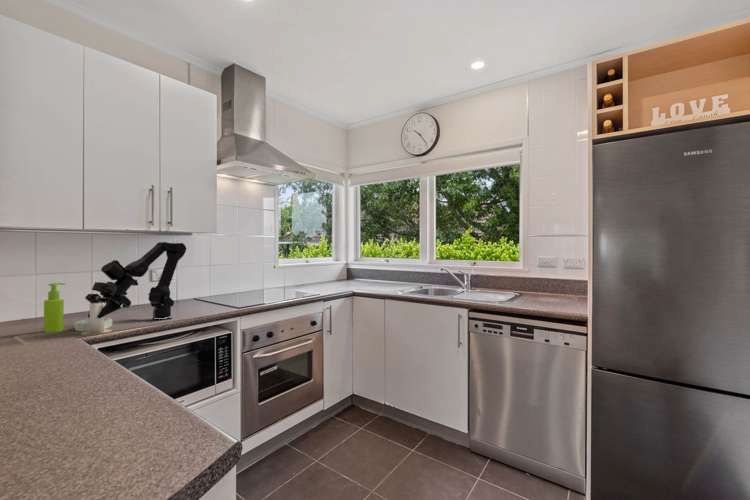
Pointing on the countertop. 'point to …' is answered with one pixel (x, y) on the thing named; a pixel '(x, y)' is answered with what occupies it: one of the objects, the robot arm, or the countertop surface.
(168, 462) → the countertop surface
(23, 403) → the countertop surface
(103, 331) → the cork mat
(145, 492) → the countertop surface
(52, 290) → the soap dispenser
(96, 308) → the white dome-topped cylinder
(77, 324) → the bowl
